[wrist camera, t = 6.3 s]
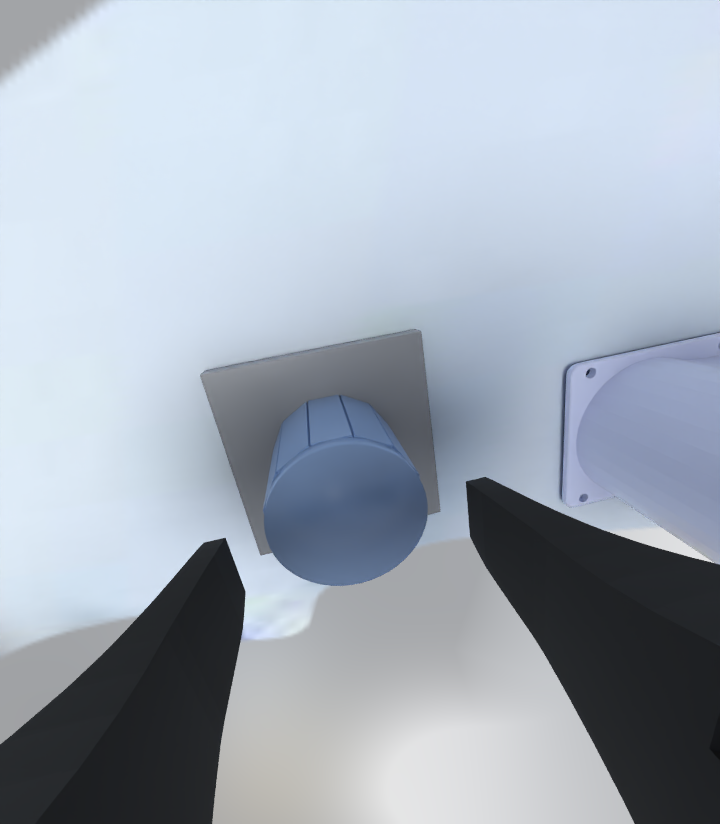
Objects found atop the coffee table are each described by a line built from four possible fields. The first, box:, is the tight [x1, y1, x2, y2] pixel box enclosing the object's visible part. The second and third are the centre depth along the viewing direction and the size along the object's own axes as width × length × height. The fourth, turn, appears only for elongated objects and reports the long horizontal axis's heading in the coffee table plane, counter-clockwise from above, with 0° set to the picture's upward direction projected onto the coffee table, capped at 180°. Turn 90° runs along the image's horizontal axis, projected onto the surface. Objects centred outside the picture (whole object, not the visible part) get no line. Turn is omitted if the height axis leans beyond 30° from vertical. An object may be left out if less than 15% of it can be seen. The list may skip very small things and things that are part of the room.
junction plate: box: [200, 329, 440, 555], centre depth 15 cm, size 9×9×4 cm
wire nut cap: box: [263, 395, 428, 586], centre depth 14 cm, size 5×5×5 cm
